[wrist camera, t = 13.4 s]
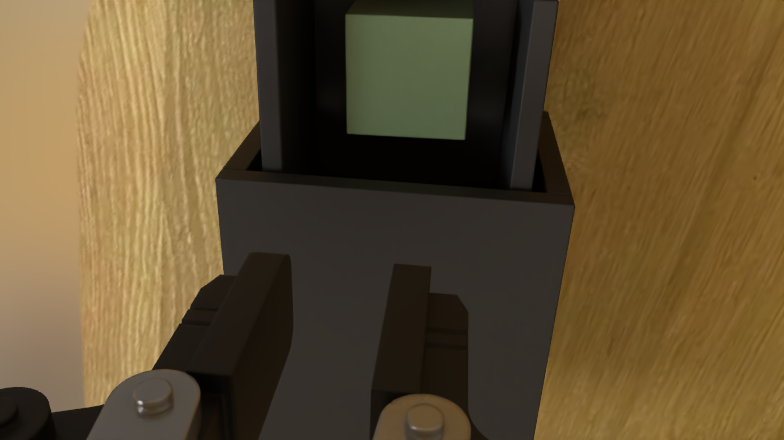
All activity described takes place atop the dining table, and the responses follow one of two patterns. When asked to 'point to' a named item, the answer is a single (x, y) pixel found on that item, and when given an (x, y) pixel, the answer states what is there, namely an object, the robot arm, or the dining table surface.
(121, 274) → the dining table surface
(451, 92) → the block
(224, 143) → the dining table surface
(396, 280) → the robot arm
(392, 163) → the drawer
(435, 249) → the cabinet
